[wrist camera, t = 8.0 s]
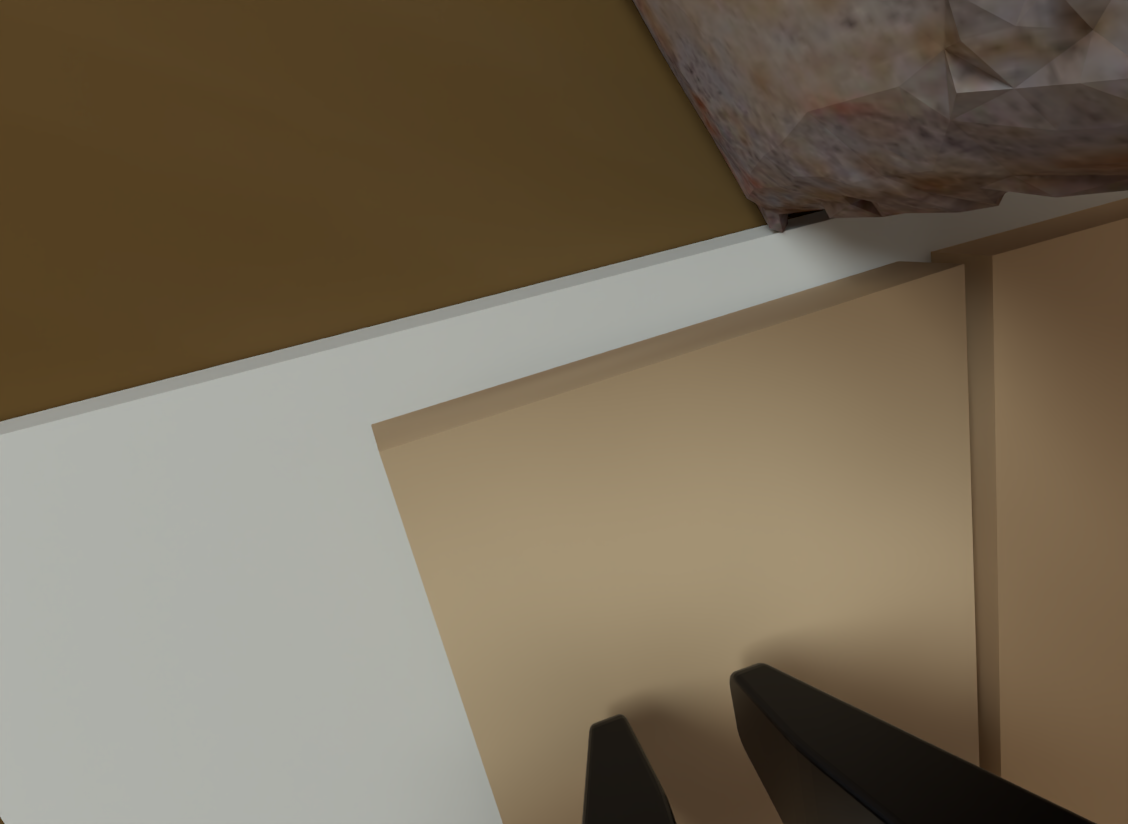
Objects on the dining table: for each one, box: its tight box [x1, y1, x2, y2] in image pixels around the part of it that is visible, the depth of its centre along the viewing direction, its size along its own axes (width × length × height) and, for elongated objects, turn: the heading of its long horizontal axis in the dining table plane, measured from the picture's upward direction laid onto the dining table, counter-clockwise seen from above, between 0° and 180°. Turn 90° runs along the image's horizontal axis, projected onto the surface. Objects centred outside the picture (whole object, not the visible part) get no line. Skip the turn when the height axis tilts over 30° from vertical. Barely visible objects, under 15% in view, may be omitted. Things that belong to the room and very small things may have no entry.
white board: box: [0, 190, 1128, 824], centre depth 11 cm, size 16×20×2 cm
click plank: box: [371, 261, 979, 824], centre depth 10 cm, size 14×7×1 cm, turn 13°
